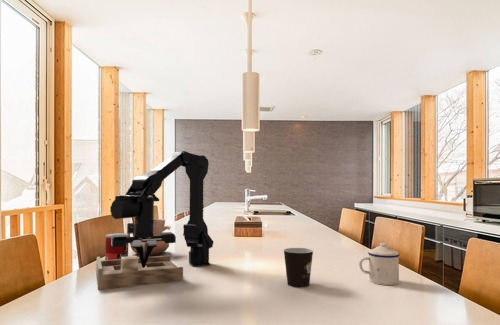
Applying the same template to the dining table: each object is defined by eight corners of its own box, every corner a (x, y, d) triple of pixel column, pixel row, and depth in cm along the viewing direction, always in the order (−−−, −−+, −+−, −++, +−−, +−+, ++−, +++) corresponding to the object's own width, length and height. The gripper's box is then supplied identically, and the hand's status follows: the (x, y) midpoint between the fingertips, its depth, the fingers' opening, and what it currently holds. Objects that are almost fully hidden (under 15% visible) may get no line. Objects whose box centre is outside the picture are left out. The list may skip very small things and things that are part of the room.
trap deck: (169, 266, 131) (169, 251, 131) (182, 280, 112) (183, 262, 113) (96, 273, 121) (96, 256, 121) (97, 289, 103) (98, 269, 103)
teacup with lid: (393, 278, 117) (393, 241, 118) (404, 286, 108) (403, 246, 109) (355, 277, 118) (355, 240, 118) (363, 285, 109) (362, 245, 109)
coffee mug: (294, 290, 103) (294, 254, 104) (278, 282, 111) (278, 249, 112) (327, 285, 109) (327, 250, 109) (309, 278, 116) (309, 246, 117)
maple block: (136, 270, 115) (136, 255, 115) (137, 273, 111) (138, 258, 111) (120, 271, 113) (121, 256, 113) (122, 275, 109) (122, 259, 109)
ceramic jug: (172, 250, 163) (172, 217, 163) (169, 256, 148) (168, 220, 149) (130, 251, 161) (130, 218, 161) (122, 258, 146) (122, 222, 147)
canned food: (120, 268, 128) (121, 236, 129) (100, 267, 130) (101, 235, 131) (132, 263, 136) (132, 233, 137) (112, 262, 138) (113, 232, 138)
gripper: (168, 213, 126) (168, 259, 125) (110, 215, 118) (109, 264, 117) (176, 216, 116) (175, 266, 115) (112, 218, 108) (111, 272, 107)
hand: (143, 267), depth 114 cm, fingers closed
